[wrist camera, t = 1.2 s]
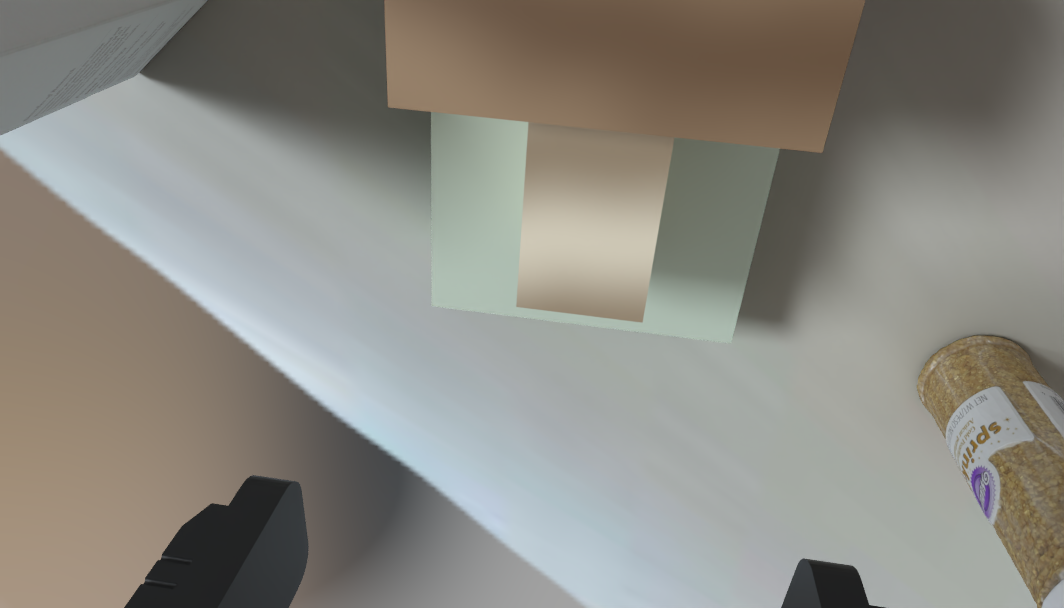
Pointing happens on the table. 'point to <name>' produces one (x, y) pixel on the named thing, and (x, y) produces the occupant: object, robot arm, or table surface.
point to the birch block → (590, 220)
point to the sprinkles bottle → (1006, 449)
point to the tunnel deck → (616, 128)
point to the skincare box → (77, 49)
